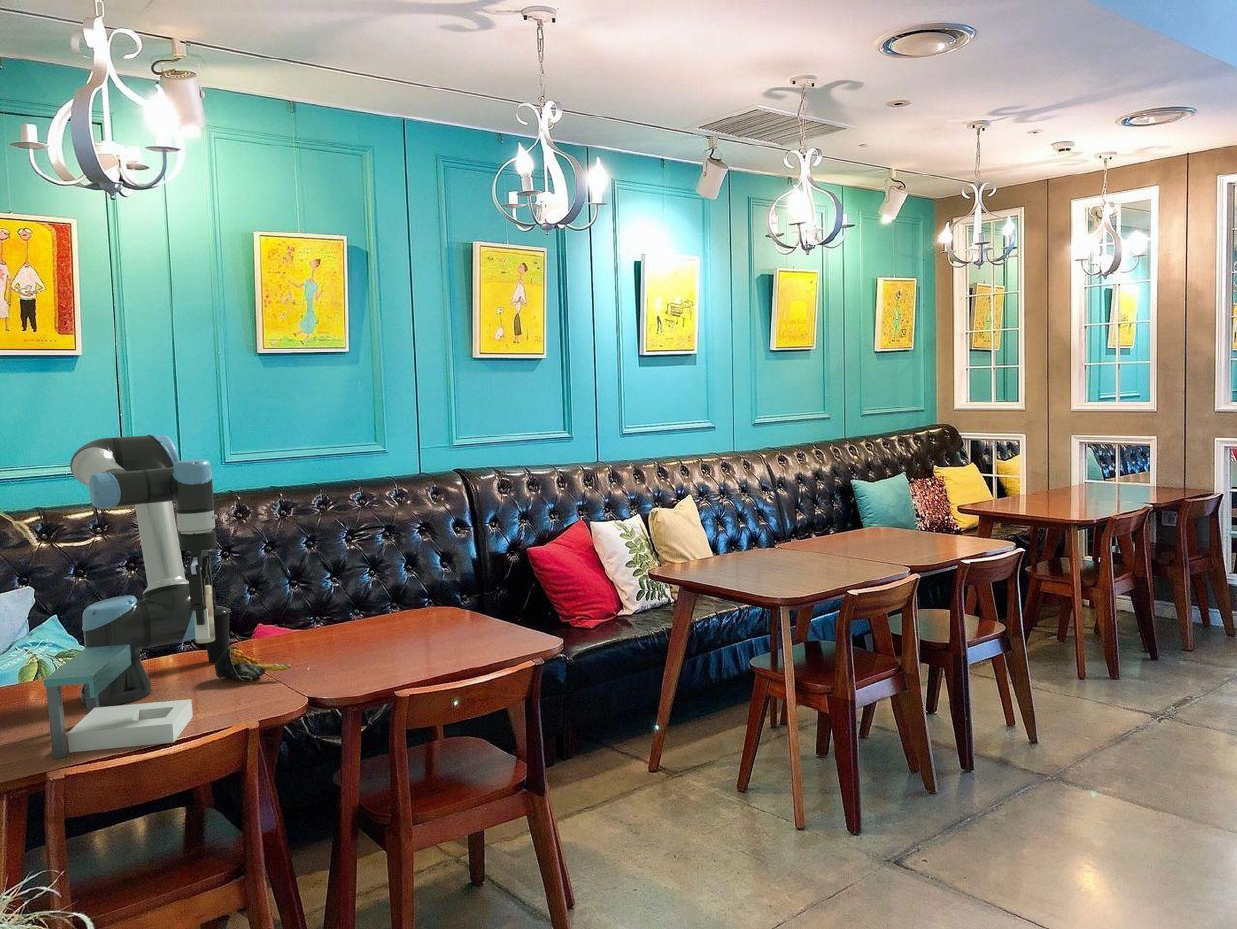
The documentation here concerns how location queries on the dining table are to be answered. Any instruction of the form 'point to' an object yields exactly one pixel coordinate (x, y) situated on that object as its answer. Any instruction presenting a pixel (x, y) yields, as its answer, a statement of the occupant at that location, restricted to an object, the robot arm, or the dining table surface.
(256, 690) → the dining table surface
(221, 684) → the dining table surface
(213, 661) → the drinking cup
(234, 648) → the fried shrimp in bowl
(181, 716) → the socket block
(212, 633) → the wooden peg
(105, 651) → the teal miniature table
